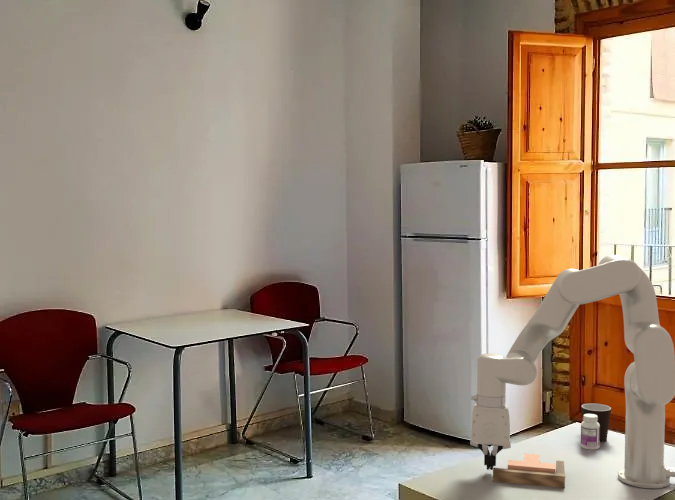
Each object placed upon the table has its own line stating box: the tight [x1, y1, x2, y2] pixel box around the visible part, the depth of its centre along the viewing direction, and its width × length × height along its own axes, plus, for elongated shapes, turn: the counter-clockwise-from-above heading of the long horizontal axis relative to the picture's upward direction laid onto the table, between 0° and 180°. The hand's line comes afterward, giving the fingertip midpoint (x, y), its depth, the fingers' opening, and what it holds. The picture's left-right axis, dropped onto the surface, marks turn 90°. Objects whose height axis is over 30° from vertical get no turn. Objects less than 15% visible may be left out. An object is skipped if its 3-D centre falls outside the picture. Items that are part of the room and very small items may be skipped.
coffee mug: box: [580, 403, 612, 443], centre depth 237 cm, size 12×9×10 cm
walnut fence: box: [492, 460, 566, 489], centre depth 203 cm, size 18×12×3 cm, turn 75°
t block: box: [507, 453, 556, 473], centre depth 205 cm, size 12×10×4 cm
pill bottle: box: [580, 414, 601, 451], centre depth 228 cm, size 5×5×10 cm
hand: (490, 468), depth 206 cm, fingers closed
